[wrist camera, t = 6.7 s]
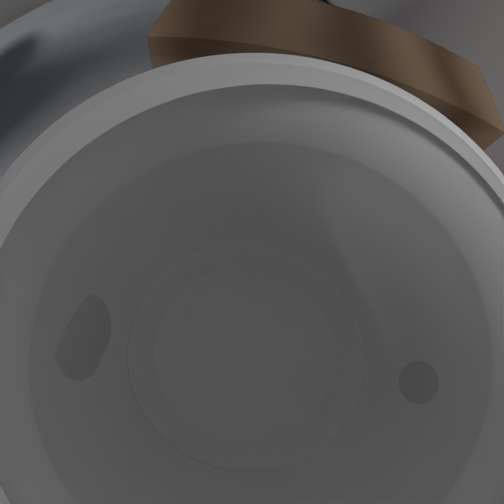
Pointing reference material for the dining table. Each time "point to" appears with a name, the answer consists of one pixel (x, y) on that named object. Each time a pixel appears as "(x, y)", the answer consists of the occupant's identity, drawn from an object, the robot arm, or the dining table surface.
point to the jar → (253, 294)
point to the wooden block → (331, 50)
